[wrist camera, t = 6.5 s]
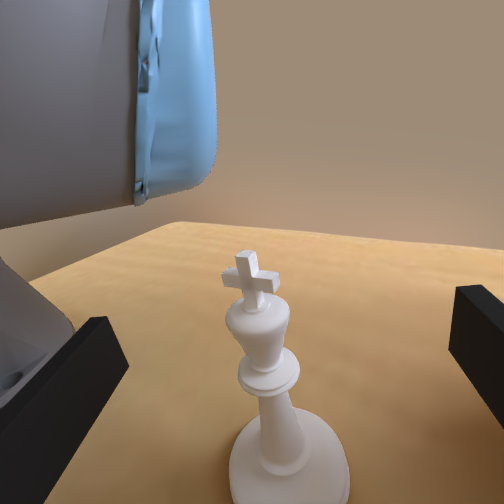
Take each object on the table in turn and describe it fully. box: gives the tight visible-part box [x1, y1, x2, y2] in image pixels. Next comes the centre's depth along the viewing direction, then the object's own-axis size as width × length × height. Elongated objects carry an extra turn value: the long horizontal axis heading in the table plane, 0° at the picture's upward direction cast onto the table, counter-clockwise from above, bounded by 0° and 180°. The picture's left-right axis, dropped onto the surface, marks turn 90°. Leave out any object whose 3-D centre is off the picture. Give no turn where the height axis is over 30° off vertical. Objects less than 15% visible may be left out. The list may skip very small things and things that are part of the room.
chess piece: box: [222, 250, 350, 504], centre depth 10 cm, size 5×5×10 cm
